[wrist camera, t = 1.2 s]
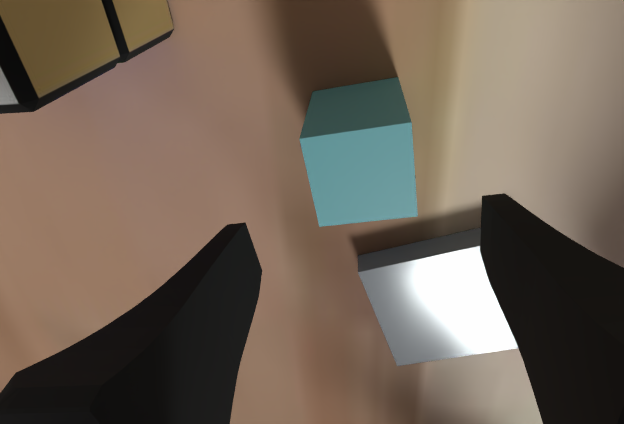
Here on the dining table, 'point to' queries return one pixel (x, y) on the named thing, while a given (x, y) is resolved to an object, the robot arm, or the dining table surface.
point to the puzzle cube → (70, 44)
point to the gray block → (435, 299)
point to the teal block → (360, 153)
